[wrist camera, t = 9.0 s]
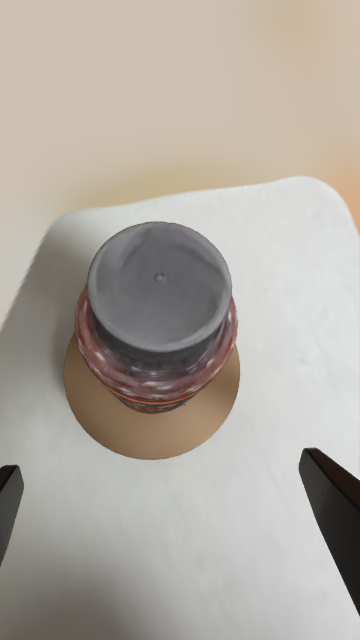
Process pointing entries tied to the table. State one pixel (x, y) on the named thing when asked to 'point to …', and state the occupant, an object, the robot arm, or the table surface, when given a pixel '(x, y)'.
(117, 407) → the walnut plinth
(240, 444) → the table surface
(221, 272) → the supplement bottle
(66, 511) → the table surface
